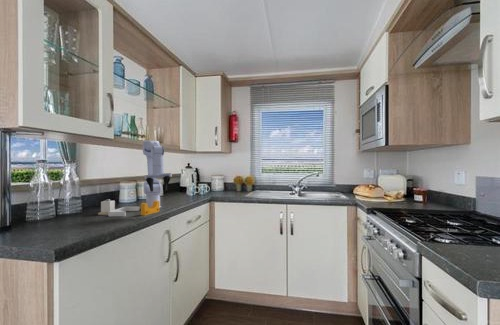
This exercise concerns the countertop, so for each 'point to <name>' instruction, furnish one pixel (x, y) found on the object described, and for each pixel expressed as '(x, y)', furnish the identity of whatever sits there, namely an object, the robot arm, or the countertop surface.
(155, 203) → the pipe clamp
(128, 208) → the parts bay
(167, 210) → the countertop surface
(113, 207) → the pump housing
